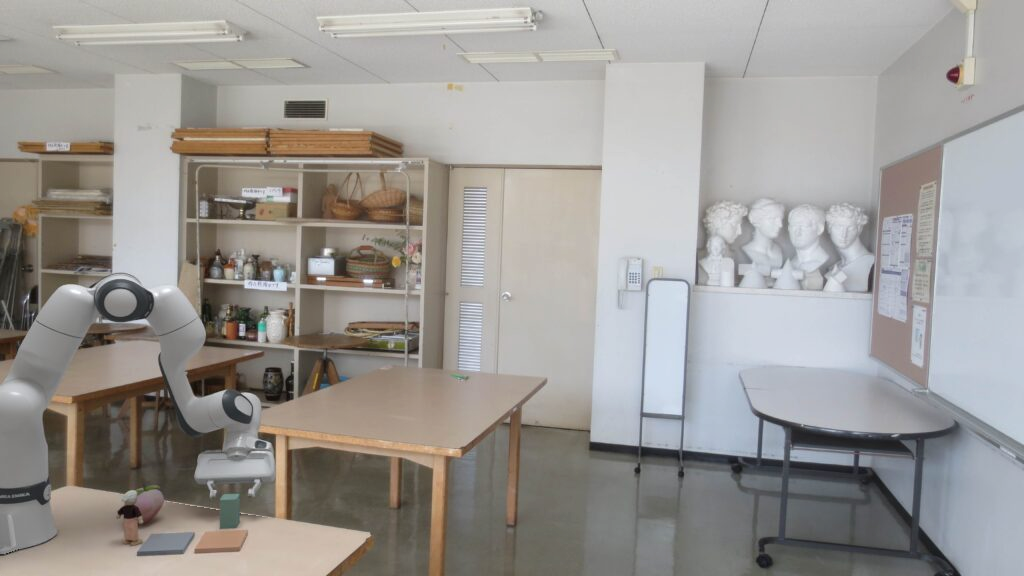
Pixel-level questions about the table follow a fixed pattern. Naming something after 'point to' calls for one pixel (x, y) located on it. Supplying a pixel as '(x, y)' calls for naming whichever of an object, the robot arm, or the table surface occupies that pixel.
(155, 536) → the slate tile
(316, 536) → the table surface
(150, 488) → the decorative fruit
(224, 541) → the terracotta tile
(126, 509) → the grandmother figurine
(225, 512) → the green wooden block
